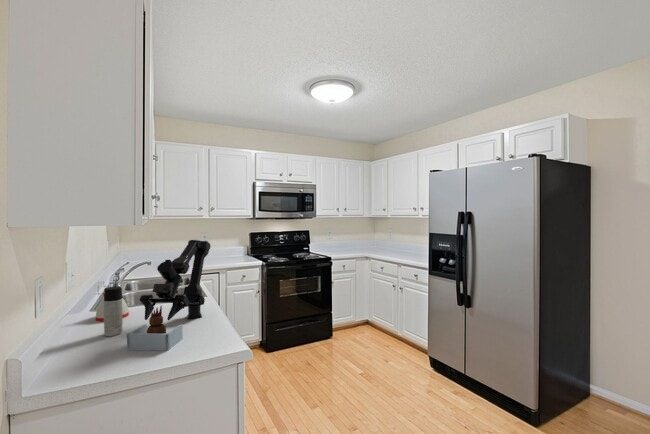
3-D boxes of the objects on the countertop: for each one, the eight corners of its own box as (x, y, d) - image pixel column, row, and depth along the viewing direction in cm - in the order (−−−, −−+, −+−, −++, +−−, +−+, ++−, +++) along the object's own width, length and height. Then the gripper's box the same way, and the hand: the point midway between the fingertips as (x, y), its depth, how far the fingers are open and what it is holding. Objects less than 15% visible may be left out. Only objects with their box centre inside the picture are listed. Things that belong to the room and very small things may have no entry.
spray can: (120, 329, 143) (119, 285, 143) (124, 333, 138) (123, 287, 138) (102, 333, 138) (101, 287, 138) (106, 338, 133) (105, 290, 133)
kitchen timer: (126, 319, 158) (126, 288, 158) (92, 323, 152) (92, 292, 152) (130, 311, 171) (129, 283, 170) (99, 315, 165) (98, 286, 165)
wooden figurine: (168, 340, 130) (168, 303, 130) (161, 346, 124) (161, 308, 124) (151, 341, 130) (151, 304, 129) (144, 347, 124) (143, 308, 124)
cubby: (144, 338, 132) (144, 324, 132) (182, 338, 131) (182, 324, 131) (127, 350, 121) (126, 334, 121) (168, 350, 120) (167, 334, 120)
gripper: (141, 275, 133) (124, 309, 122) (185, 275, 132) (171, 309, 121) (153, 289, 141) (137, 323, 130) (194, 289, 140) (182, 323, 129)
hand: (156, 319), depth 127 cm, fingers open, 9 cm apart
